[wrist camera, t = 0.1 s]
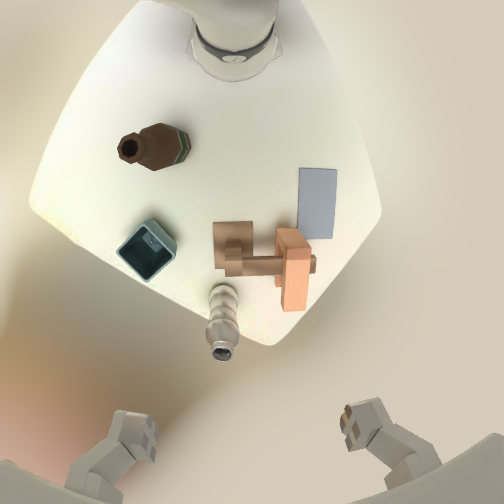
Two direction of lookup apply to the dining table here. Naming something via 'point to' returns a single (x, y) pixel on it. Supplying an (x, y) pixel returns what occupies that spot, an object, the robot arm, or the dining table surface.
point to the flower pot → (148, 250)
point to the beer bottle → (155, 147)
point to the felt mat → (316, 203)
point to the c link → (293, 268)
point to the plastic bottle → (223, 323)
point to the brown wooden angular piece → (244, 252)
